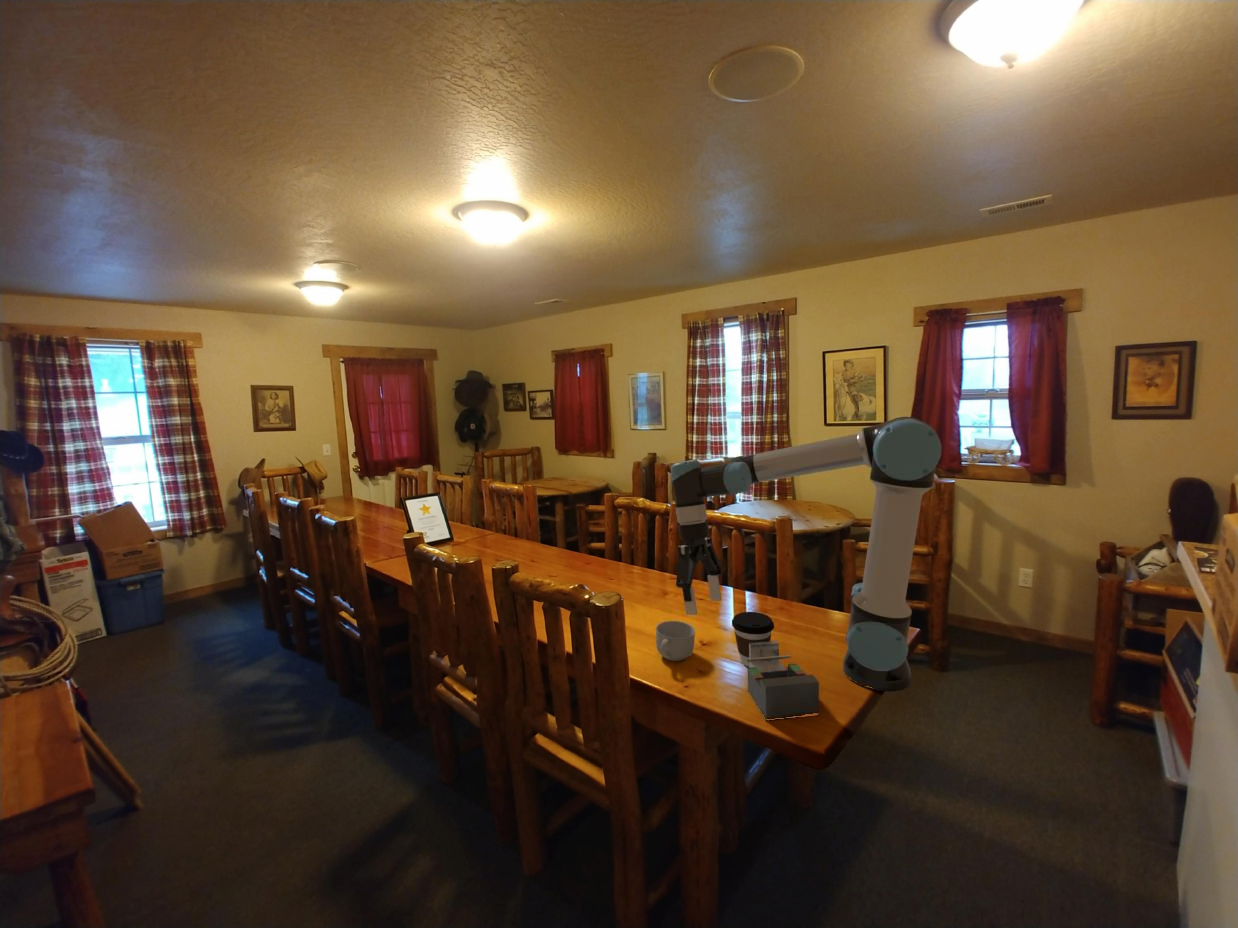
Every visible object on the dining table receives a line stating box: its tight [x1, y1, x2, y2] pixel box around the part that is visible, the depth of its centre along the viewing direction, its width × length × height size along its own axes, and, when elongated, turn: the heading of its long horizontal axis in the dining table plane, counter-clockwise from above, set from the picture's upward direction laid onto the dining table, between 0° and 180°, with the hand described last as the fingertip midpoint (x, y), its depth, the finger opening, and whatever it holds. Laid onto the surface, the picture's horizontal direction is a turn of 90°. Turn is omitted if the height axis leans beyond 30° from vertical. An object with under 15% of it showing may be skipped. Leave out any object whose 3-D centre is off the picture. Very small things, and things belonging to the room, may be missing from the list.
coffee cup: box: [731, 611, 775, 668], centre depth 136 cm, size 11×11×12 cm
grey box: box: [747, 663, 820, 720], centre depth 117 cm, size 12×12×8 cm
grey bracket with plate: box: [746, 640, 792, 679], centre depth 125 cm, size 6×11×8 cm, turn 95°
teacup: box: [655, 620, 696, 662], centre depth 140 cm, size 14×11×8 cm
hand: (704, 607), depth 128 cm, fingers open, 13 cm apart
